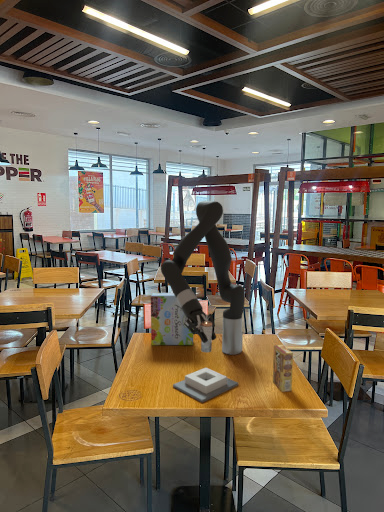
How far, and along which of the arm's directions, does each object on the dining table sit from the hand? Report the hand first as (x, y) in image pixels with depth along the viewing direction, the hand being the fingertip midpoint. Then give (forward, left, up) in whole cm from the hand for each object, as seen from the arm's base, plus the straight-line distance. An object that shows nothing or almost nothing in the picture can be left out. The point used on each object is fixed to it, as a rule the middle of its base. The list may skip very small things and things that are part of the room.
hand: (210, 340), depth 141 cm
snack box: (-21, -47, -19) cm, 55 cm away
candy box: (-22, +18, -19) cm, 34 cm away
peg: (0, -2, -5) cm, 5 cm away
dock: (0, -2, -19) cm, 19 cm away
